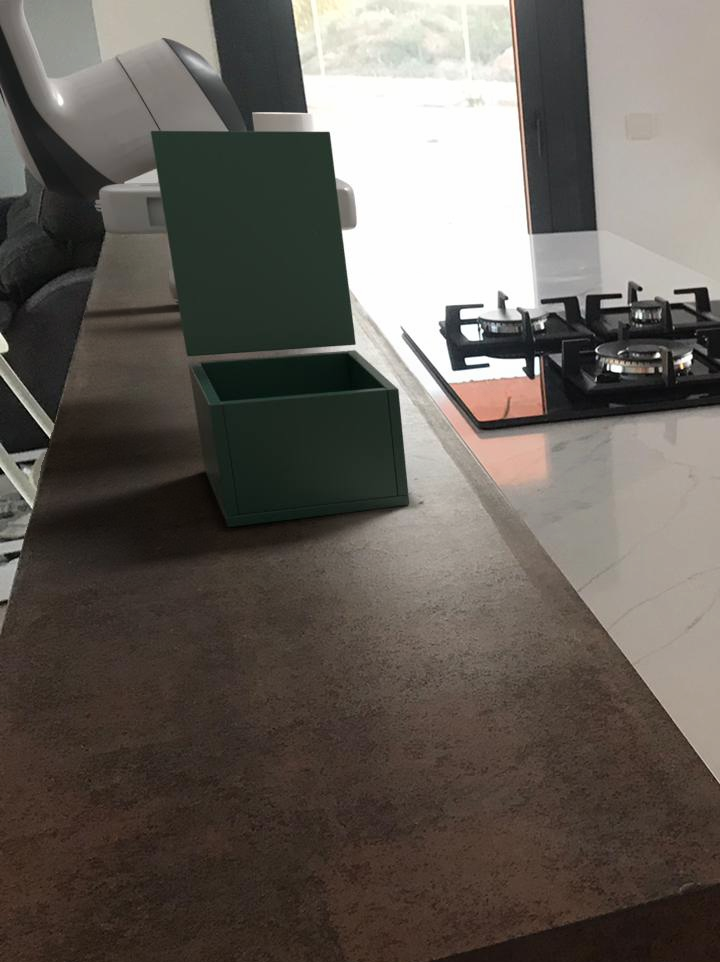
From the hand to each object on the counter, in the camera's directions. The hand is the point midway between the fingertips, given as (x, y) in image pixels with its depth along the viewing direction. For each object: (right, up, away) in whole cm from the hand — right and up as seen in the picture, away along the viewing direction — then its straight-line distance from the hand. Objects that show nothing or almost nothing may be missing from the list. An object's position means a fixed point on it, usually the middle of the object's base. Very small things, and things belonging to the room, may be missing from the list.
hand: (242, 215), depth 105 cm
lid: (+4, -4, -6) cm, 8 cm away
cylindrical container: (-20, +7, +67) cm, 70 cm away
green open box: (+7, -23, -6) cm, 25 cm away
